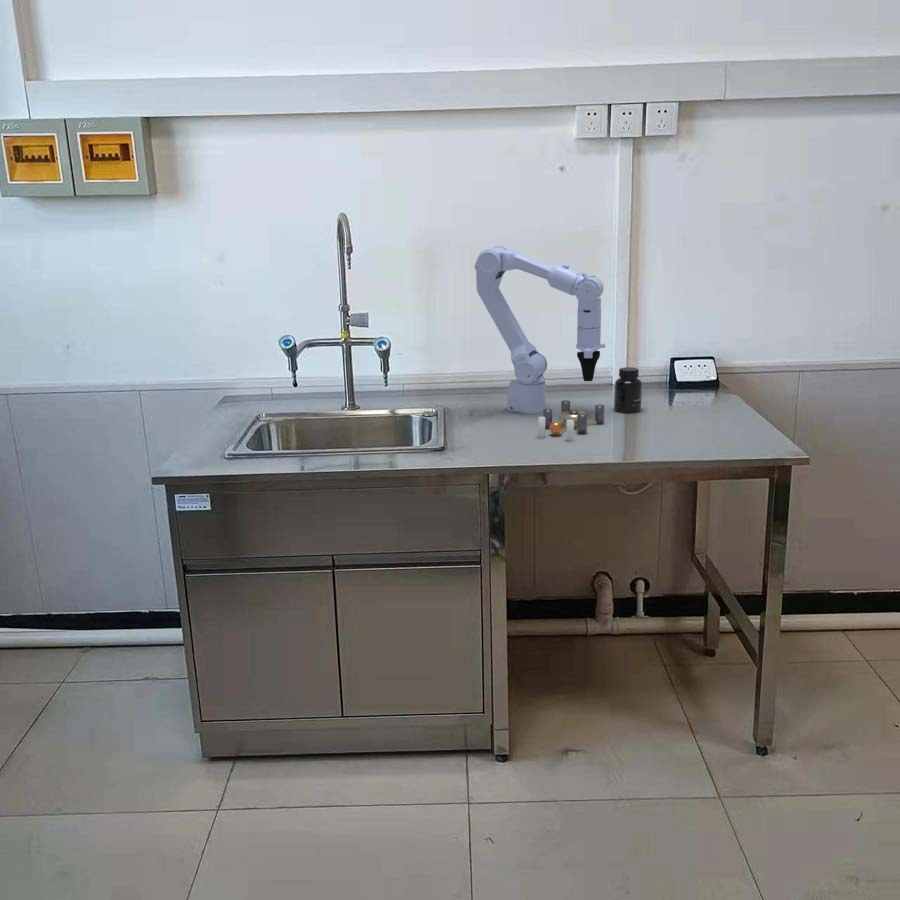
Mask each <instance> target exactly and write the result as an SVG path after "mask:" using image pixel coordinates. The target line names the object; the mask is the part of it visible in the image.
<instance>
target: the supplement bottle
mask: <svg viewBox="0 0 900 900" xmlns="http://www.w3.org/2000/svg"><path fill="white" fill-rule="evenodd" d="M639 371H640V370H639V368H638V367H621V368H619V370H618V377H619V378H617V379H616V380H615V382H614V398H613V399H614V401H613V411H614V412H616V413H620V414H629V415H631V414H637V413H640V412H641V411H642V397H643V396H642V394H643V393H642V392H643V382H642V381H641V380H640V378H638V377H639V375H640V374H639Z"/></svg>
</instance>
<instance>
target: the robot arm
mask: <svg viewBox="0 0 900 900" xmlns="http://www.w3.org/2000/svg"><path fill="white" fill-rule="evenodd" d="M569 267H570V265H568V264H567V263H565V264H563V265H562V264H557V265H555V266H550V265H548V264H546V263H544V262H542V261H539V260H537V259H535V258H533V257H531V256H528V255H526V254H524V253H521V252H520V251H517V250H515V249H512V248H506V247H505V246H501V245H499V246H494V247H492V248H489V249H483V250H482V251H481V252H480V253H479V254H478V256H477V258H476V262H475V264H474V269H475V273H476V274H475V275H476V277H475V278H476V279H475V280H476V291H477V293H478V296H479V298H480V300H481V301H482V303H483V305H484V306H485V309H486V310H487V312H488V314H489V315H490V317H491V319H492V321H493V322H494V324H495V326H496V328H497V329H498V331H499V333H500V335H501V336H502V339H503V341H504V342H505V344H506V347H508V349H509V352H510V360H511V363H512V365H513V368H514V376H515V377H516V379H512V380H510V382H509V383H508V386H507V390H506V406H507V407H506V408H507V411H510V412H515V413H516V412H517V413H521V414H526V415H528V414H530V415H533V414H541V413H543V410H544V409H546V378H545V376H544V373H545V372H546V371H547V369H548V361H547V359H546V357H545V355H543V354H542V353H541V352H539V350H537V348H536V345H534V344H532V343H531V342H530V341H529V339H528V338H527V336H526V334H525V332H524V331H523V328H521V326H520V324H519V322H518V320H517V318H516V316H515V314H514V313H513V311H512V309H511V307H510V306H509V304H508V302H507V300H506V299H505V297H504V295H503V292H502V291H501V290H500V285H501V282H502V279H503V276H504V274H505V273H506V272H507V271H513V270H520V271H522V272H525V273H528V274H531V275H534V276H535V277H538V278H542V279H544V280H547V282H548V285H549V286H550V287H551V288H552V289H553V288H554V289H555V290H558V291H560V292H563V293H565V294H567V295H570V296H573V297H574V296H575V298H576V299H577V321H576V322H577V325H576V326H577V328H576V333H577V334H576V344H575V346H576V349H578V350H579V351H577V352H576V357H577V359H578V361H579V364H580V367H581V372H582V379H583V381H584V382H593V380H594V376H595V371H596V366H597V362H598V360H599V359H600V358H601V357H600V356H601V351H600V349H605V348H606V344H605V343H601V332H602V331H601V330H602V329H601V328H602V307H601V304H602V298H601V296H602V295H603V292H604V284H603V283H604V282H603V281H602V280H601V278H598V277H597V276H596V275H588V274H587V273H588V272H584V271H583V272H579V271H576V270H574V269H572V268H569ZM587 275H588V276H587Z"/></svg>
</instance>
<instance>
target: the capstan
mask: <svg viewBox="0 0 900 900" xmlns="http://www.w3.org/2000/svg"><path fill="white" fill-rule="evenodd" d="M560 403H561V405H560V406H561V407H560V409H561V410H560V412H561V413H560V419H561V420H560V421H561V422H559V421H553V409H552V408H545V409H544V410H543V412H542V413H543V414H542V415H543V417H545V430H549V431H550V432H551V434H553V436H559V435H561V434H563V433H564V432H567V420H570V419H571V420H574V430H575V431H576V432H577V434H578V435H586V434H588V426H591V425H594V426H595V425H597V426H599V425H604V424H605V405H604V404H596V405H594V419H590V420H588V414H587V412H586V411H583V410H578V409H571V401H570V400H568V399H566V400H565V399H564V400H561V402H560Z"/></svg>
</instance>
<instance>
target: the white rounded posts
mask: <svg viewBox="0 0 900 900" xmlns="http://www.w3.org/2000/svg"><path fill="white" fill-rule="evenodd" d="M537 421H538V422H537V424H538V426H537V427H538V429H537V431H538V433H537V434H538V436H537V437H538V438H540V439H543V438H546V429H545V417H543V416H538V420H537ZM574 433H575V429H574V420H571V419H570V420H567V431H566V442H574V440H575V439H574V438H575V437H574Z"/></svg>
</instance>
